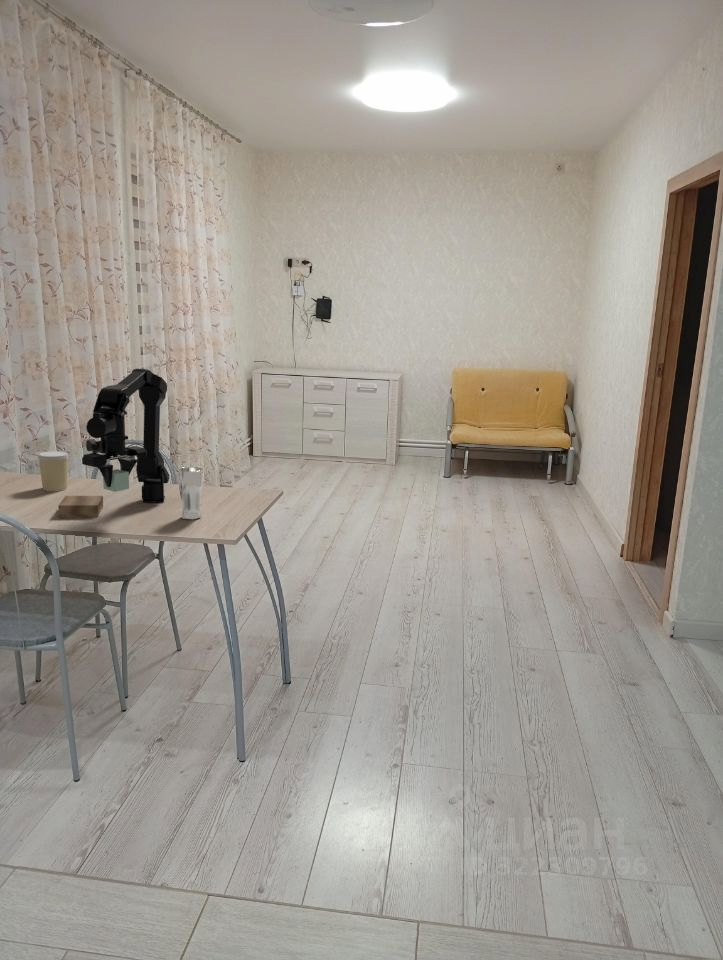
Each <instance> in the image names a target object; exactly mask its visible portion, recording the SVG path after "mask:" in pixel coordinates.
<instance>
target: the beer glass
mask: <svg viewBox="0 0 723 960" xmlns="http://www.w3.org/2000/svg"><path fill="white" fill-rule="evenodd" d="M178 474H179V476H178V488H179V489H178V491H179V495H180V500H181V513H180V518H181V519H182V518H184V519H196V518H200V517H201V518H202V512H201V499H202V496H203V495H202V493H203V487H204V483H203V482H204V481H203V468H201V467H198V466H184V467H183V466H182V467H180V468H179V473H178ZM201 518H200V519H201ZM184 519H183V520H184Z"/></svg>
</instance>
